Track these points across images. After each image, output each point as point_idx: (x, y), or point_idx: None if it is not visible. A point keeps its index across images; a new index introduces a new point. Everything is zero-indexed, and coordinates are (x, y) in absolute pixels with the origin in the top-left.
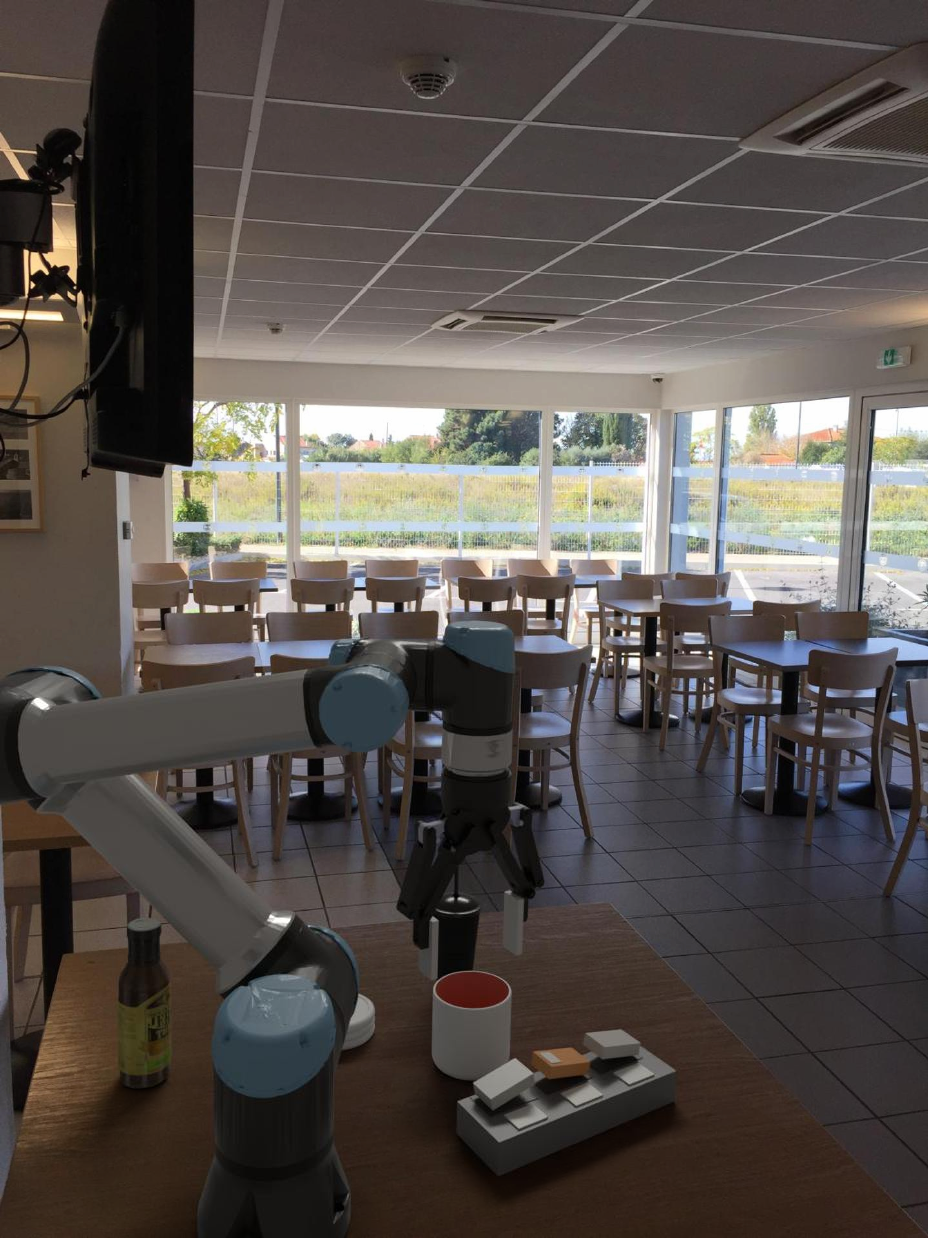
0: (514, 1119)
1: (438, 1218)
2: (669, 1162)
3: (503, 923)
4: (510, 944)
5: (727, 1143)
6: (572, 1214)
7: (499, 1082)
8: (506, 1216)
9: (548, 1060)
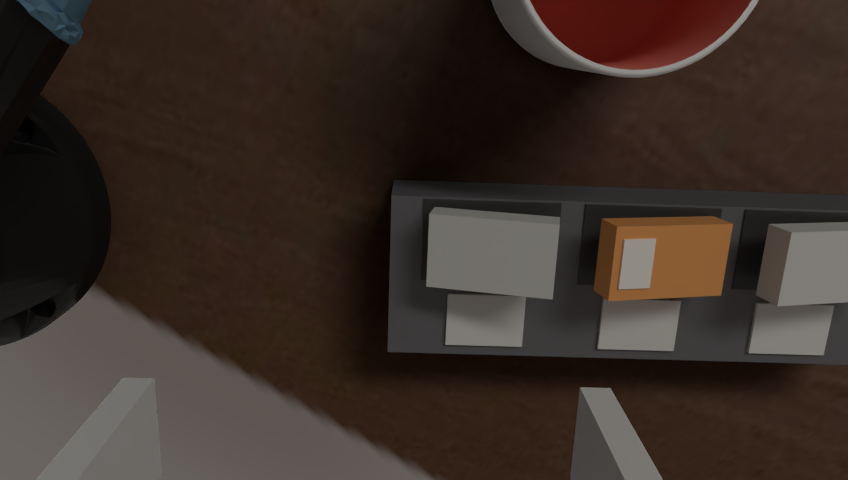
0: (456, 318)
1: (241, 348)
2: (672, 446)
3: (610, 454)
4: (582, 460)
5: (796, 464)
6: (441, 451)
7: (475, 260)
8: (344, 401)
9: (621, 277)
